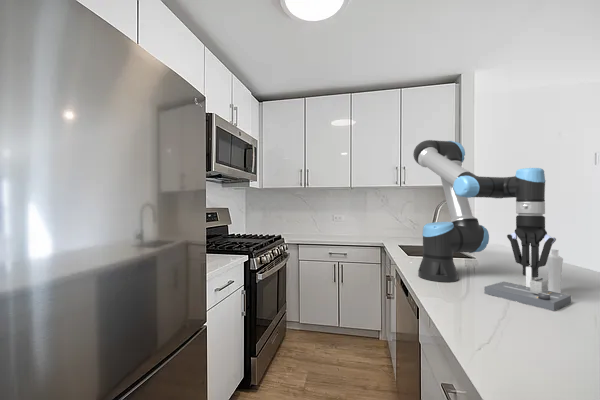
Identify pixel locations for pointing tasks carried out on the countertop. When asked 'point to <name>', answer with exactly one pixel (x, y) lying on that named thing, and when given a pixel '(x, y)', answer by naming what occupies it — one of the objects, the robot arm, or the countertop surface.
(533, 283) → the fader
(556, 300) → the console
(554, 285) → the perfume bottle
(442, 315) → the countertop surface
